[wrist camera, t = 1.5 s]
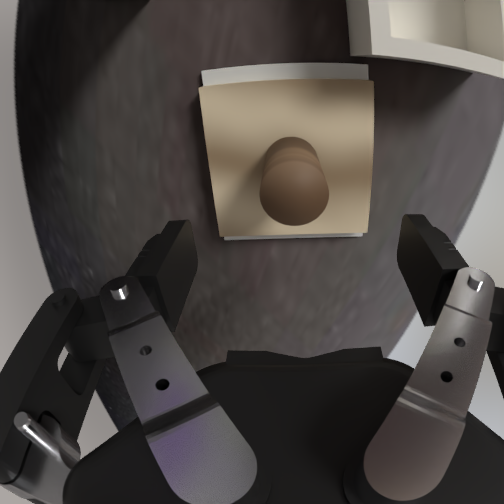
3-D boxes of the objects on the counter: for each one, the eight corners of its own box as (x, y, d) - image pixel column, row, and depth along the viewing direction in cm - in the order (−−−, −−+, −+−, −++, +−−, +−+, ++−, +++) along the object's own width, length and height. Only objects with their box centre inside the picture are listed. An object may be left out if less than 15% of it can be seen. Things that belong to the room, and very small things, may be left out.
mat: (202, 70, 17) (201, 71, 17) (366, 64, 16) (368, 64, 16) (225, 237, 24) (224, 240, 24) (361, 233, 23) (362, 236, 22)
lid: (203, 86, 18) (170, 97, 12) (368, 80, 16) (404, 89, 11) (222, 228, 23) (205, 283, 18) (363, 224, 22) (385, 278, 17)
